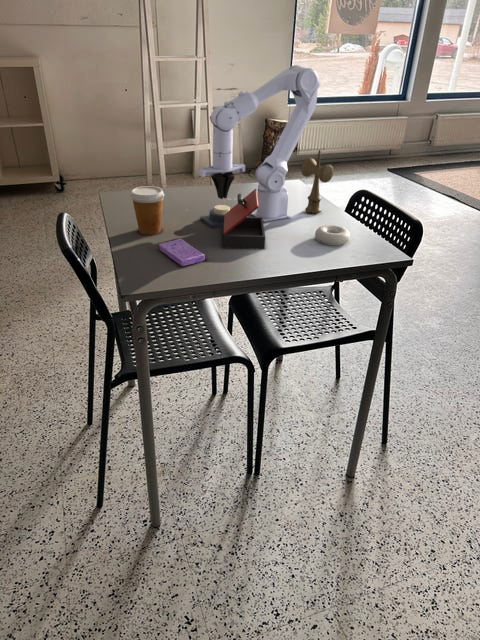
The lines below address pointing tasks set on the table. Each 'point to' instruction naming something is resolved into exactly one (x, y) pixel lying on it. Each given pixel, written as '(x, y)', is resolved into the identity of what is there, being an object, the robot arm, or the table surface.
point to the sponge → (182, 252)
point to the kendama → (316, 181)
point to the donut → (332, 235)
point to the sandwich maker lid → (240, 211)
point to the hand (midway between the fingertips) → (222, 197)
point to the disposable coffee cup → (148, 208)
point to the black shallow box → (246, 234)
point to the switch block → (213, 219)
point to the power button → (221, 209)
